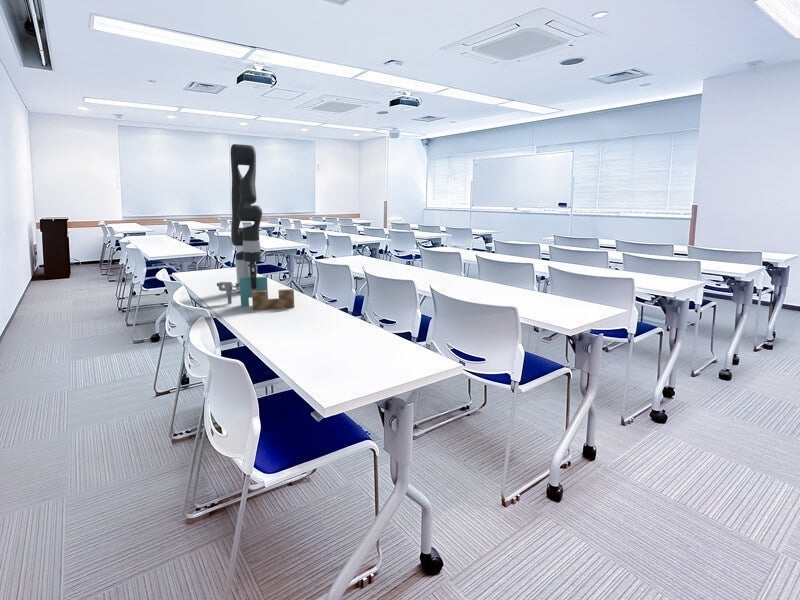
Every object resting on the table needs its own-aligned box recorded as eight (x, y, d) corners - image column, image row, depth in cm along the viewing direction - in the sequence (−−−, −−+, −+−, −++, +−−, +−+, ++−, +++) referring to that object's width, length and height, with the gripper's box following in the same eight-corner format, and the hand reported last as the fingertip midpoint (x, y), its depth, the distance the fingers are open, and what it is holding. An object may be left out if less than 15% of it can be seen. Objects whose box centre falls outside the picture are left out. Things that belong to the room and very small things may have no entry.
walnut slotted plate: (253, 309, 211) (252, 292, 209) (252, 308, 213) (251, 290, 212) (294, 307, 216) (293, 290, 215) (293, 306, 219) (293, 289, 217)
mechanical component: (239, 304, 220) (238, 283, 218) (217, 304, 221) (216, 282, 218) (241, 303, 223) (240, 282, 221) (220, 302, 224) (218, 281, 221)
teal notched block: (241, 306, 217) (239, 278, 214) (241, 305, 219) (239, 277, 217) (268, 305, 220) (267, 277, 217) (268, 303, 223) (266, 276, 220)
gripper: (242, 248, 220) (245, 285, 224) (243, 252, 207) (245, 290, 210) (259, 248, 222) (261, 284, 226) (261, 252, 209) (263, 290, 213)
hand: (253, 287), depth 218 cm, fingers open, 5 cm apart
